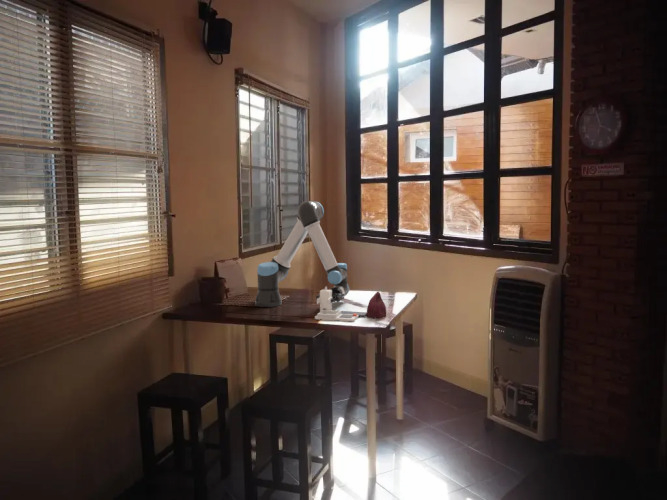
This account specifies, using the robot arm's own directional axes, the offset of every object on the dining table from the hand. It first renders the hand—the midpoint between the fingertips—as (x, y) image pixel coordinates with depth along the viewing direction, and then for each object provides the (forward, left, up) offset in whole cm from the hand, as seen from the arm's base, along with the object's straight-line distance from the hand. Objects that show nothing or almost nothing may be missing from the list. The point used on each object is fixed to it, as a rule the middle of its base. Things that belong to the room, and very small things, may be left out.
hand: (322, 301), depth 263 cm
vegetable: (+27, +5, -7) cm, 28 cm away
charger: (0, +5, -7) cm, 9 cm away
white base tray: (+9, -5, -7) cm, 12 cm away
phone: (+15, +4, -7) cm, 17 cm away
